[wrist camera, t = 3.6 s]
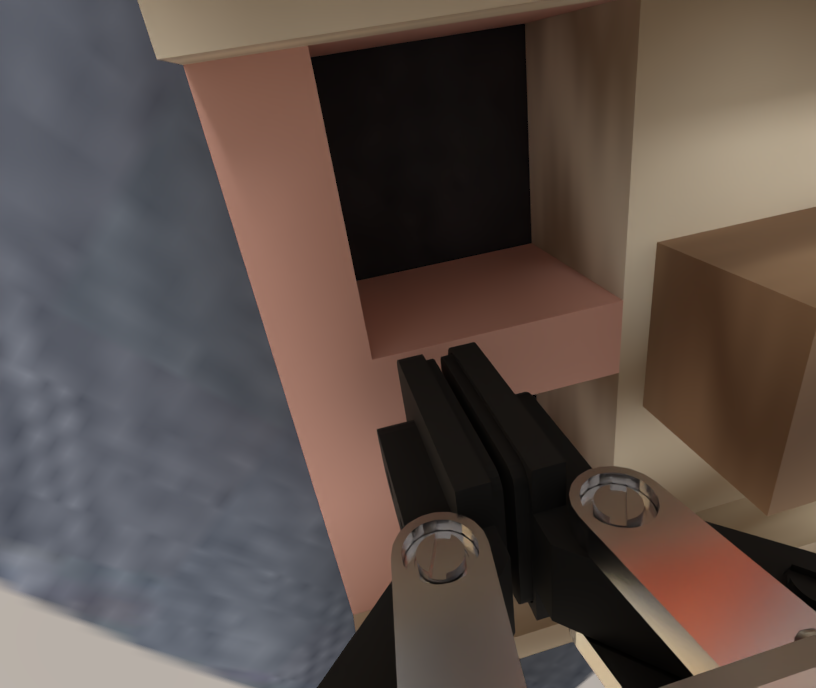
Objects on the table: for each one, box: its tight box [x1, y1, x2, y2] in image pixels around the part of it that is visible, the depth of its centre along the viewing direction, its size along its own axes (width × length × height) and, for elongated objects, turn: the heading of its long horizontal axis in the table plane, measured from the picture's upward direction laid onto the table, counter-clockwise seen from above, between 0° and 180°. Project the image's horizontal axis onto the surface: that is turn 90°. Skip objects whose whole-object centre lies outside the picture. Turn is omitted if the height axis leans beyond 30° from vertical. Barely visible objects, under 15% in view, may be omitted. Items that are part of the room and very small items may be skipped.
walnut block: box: [643, 207, 816, 516], centre depth 11 cm, size 4×4×4 cm
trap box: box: [138, 0, 816, 659], centre depth 13 cm, size 16×24×9 cm, turn 98°
